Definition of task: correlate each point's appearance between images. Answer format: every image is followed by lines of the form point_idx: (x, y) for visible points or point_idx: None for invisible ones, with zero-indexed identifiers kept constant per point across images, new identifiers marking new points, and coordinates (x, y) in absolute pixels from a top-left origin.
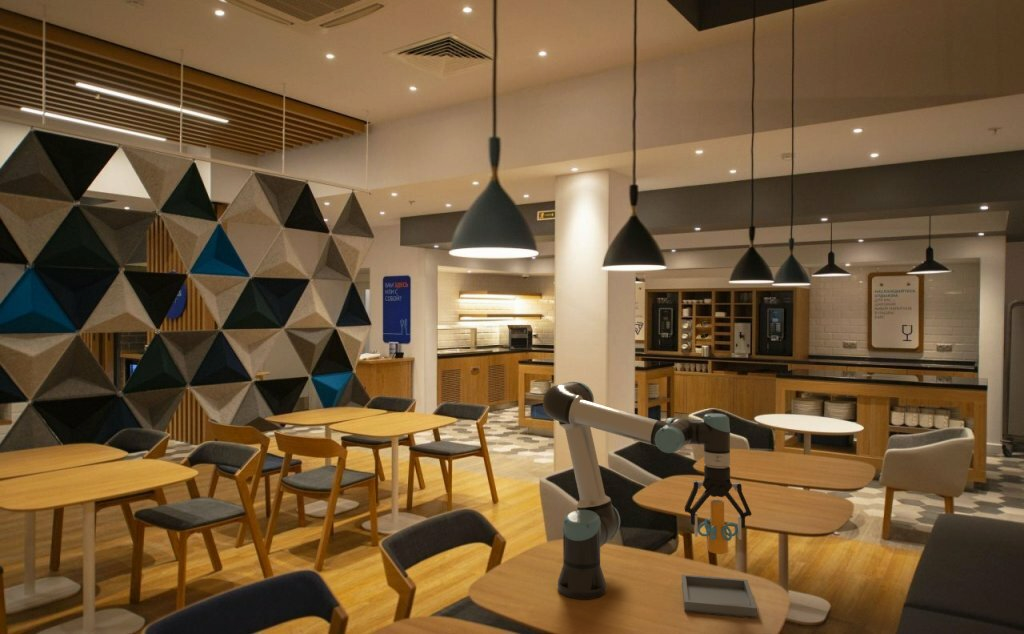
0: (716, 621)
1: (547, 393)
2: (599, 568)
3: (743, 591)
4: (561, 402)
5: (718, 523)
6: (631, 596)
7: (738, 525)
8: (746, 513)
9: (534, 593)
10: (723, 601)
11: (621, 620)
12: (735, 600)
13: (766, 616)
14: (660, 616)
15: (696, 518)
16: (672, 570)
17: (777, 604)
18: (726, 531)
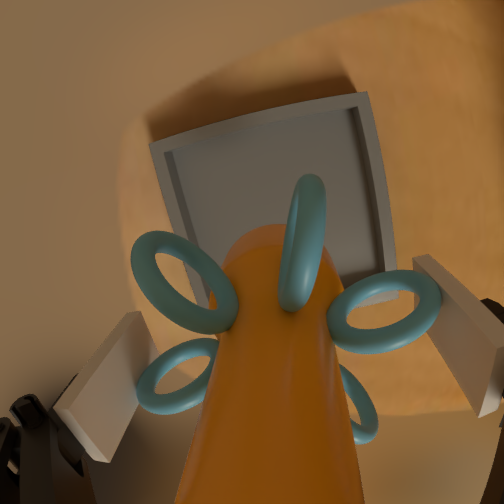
0: (262, 72)
1: None
2: None
3: None
4: None
5: (256, 342)
6: (495, 149)
7: (107, 376)
8: (19, 440)
9: None
10: (260, 200)
11: (474, 15)
12: (228, 223)
13: (141, 170)
14: (410, 50)
15: (488, 327)
16: (412, 353)
17: (130, 257)
18: (211, 352)
